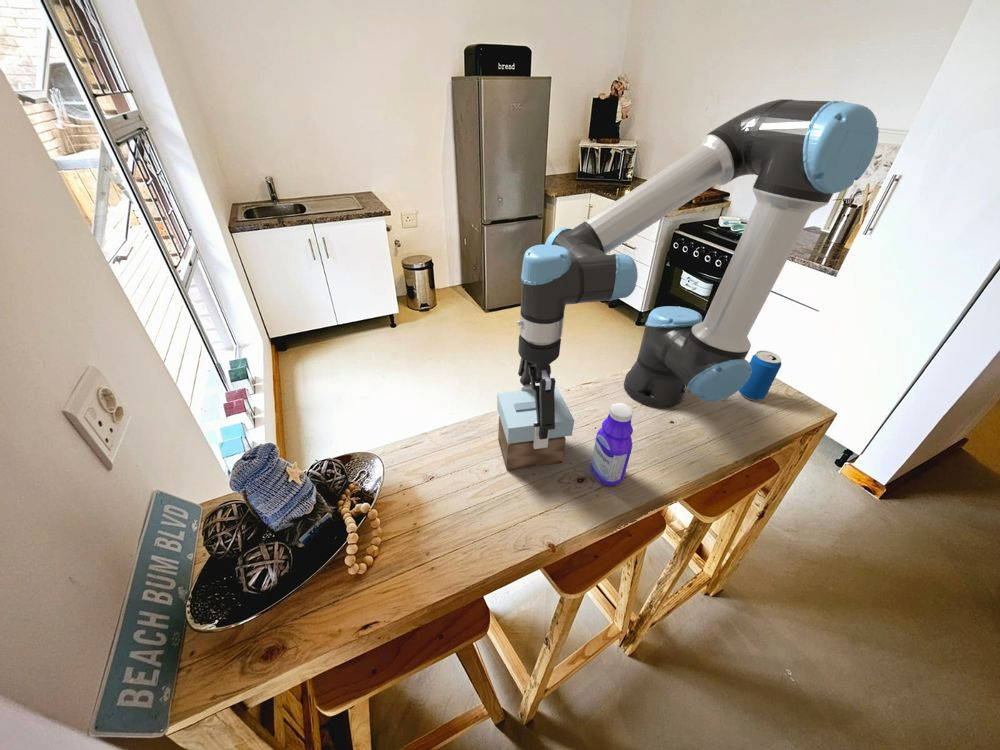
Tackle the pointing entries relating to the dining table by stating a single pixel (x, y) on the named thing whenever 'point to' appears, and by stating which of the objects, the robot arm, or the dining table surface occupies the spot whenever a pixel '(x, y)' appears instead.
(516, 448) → the crate
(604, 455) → the bottle
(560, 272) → the robot arm
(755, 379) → the beverage can
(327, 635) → the dining table surface
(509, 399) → the lid
